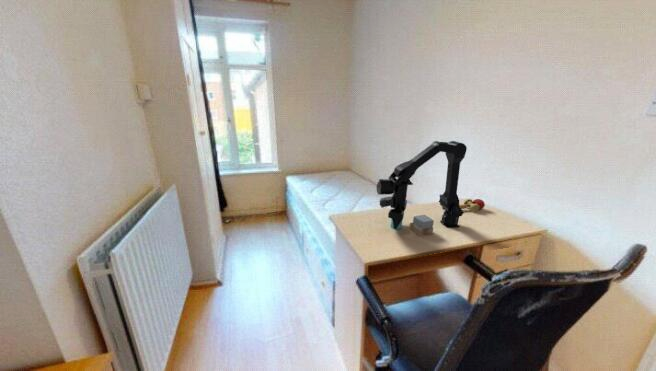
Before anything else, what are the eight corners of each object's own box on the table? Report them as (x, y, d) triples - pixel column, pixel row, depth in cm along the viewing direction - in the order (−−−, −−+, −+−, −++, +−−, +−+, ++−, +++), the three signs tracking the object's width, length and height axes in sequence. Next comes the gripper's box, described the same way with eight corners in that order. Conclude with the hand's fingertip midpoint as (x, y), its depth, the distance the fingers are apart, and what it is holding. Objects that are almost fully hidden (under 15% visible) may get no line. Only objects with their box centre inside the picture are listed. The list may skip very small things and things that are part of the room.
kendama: (458, 216, 134) (488, 210, 136) (457, 205, 133) (488, 199, 135) (449, 212, 142) (478, 207, 144) (448, 202, 141) (477, 196, 143)
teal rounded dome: (399, 224, 121) (400, 215, 120) (403, 229, 117) (404, 220, 115) (389, 224, 121) (389, 216, 119) (392, 229, 116) (393, 221, 115)
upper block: (423, 221, 118) (424, 214, 117) (432, 227, 113) (433, 220, 111) (412, 223, 116) (413, 216, 115) (421, 229, 111) (422, 222, 109)
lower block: (421, 227, 120) (422, 220, 118) (432, 234, 113) (433, 227, 112) (409, 229, 117) (410, 223, 116) (419, 237, 111) (420, 230, 110)
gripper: (385, 185, 124) (382, 214, 129) (377, 198, 108) (375, 230, 113) (408, 188, 121) (405, 217, 126) (405, 202, 104) (400, 235, 109)
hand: (396, 224), depth 119 cm, fingers open, 8 cm apart
